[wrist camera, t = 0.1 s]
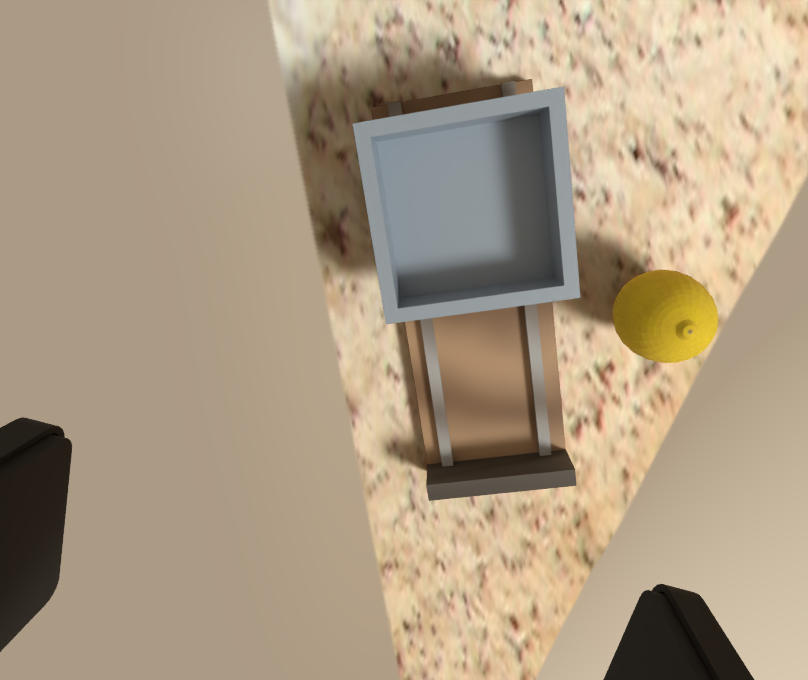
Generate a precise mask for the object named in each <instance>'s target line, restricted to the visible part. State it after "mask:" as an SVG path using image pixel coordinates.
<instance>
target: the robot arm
mask: <svg viewBox="0 0 808 680" xmlns="http://www.w3.org/2000/svg"><path fill="white" fill-rule="evenodd" d="M71 453H72V444H71V441H70V440H69V439H67V438H65V437H64V432H63V429H62V428H60V427H59V426H55V425H51V424H48V423H44V422H40V421H36V420H32V419H28V418H19V419H16V420H14V421H12V422H10V423H9V424H7V425H5V426H3V427H1V428H0V652H1V650H2V649H3V648H4V647H5V646H6V645H7V644H8V643H9V642H10V641H11V640H12V639H13V638H14V637H15V636H16V635H17V634H18V633H19V632H20V631H21V630H22V629H23V627H24V626H25V625H26V624H27V623H28V622H29V621H30V620H31V619H32V618H33V617H34V616H35V615H36V614H37V613H38V612H39V611H40V610H41V609H42V608H43V607H44V605H46V603H47V602H48V601H49V600H50V598H51V596H52V595H53V593H54V591H55V589H56V587H57V584H58V581H59V573H60V565H61V564H60V563H61V554H62V544H63V534H64V524H65V514H66V504H67V493H68V484H69V473H70V463H71ZM604 680H754V679H753V677H752V675H751V674H750V672H749V671H748V669H747V668H746V666H745V665H744V663H743V661H742V660H741V658H740V657H739V655H738V653H737V652H736V650H735V649H734V647H733V646H732V644H731V642H730V641H729V639H728V638H727V636H726V635H725V633H724V632H723V630H722V628H721V627H720V625H719V624H718V622H717V621H716V619H715V617H714V616H713V614H712V613H711V611H710V609H709V608H708V606H707V605H706V603H705V602H704V600H703V599H702V598H701V596H700V595H699V594H697V593H694V592H691V591H687V590H683V589H679V588H675V587H672V586H667V585H664V584H659V585H657V586H655V587H654V588H653V590H652V591H650V590H646V591H644V592H643V593H642V594H641V596H640V598H639V600H638V603H637V605H636V607H635V610H634V611H633V614H632V616H631V618H630V621H629V623H628V625H627V627H626V630H625V632H624V634H623V637H622V639H621V641H620V643H619V646H618V648H617V650H616V652H615V655H614V657H613V659H612V662H611V664H610V666H609V669H608V671H607V673H606V676H605V678H604Z"/></svg>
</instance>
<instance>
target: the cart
mask: <svg viewBox="0 0 808 680" xmlns="http://www.w3.org/2000/svg"><path fill="white" fill-rule="evenodd" d="M353 130H354V136H355V142H356V148H357V154H358V160H359V166H360V172H361V178H362V184H363V190H364V196H365V202H366V208H367V214H368V220H369V226H370V232H371V238H372V243H373V249H374V255H375V261H376V267H377V273H378V279H379V285H380V291H381V297H382V303H383V309H384V315H385V321H386V324H392V323H400V322H407V321H414V320H422V319H429V318H436V317H444V316H451V315H458V314H466V313H473V312H480V311H488V310H495V309H502V308H509V307H517V306H524V305H531V304H539V303H546V302H553V301H561V300H568V299H575V298H580V286H579V273H578V260H577V248H576V235H575V222H574V209H573V196H572V183H571V170H570V158H569V145H568V132H567V119H566V106H565V93H564V87H558V88H553V89H547V90H541V91H536V92H530V93H524V94H519V95H513V96H507V97H501V98H496V99H490V100H484V101H479V102H473V103H467V104H461V105H456V106H450V107H444V108H439V109H433V110H427V111H421V112H416V113H410V114H404V115H399V116H393V117H387V118H382V119H376V120H370V121H364V122H359V123H353Z"/></svg>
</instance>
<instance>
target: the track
mask: <svg viewBox="0 0 808 680" xmlns="http://www.w3.org/2000/svg"><path fill="white" fill-rule="evenodd" d="M530 92H533V85H532V79H529V80H524V81H518V82H515V81H509V82H503V83H501V85H496V86H490V87H484V88H479V89H473V90H467V91H462V92H456V93H450V94H445V95H439V96H434V97H428V98H422V99H417V100H411V101H405V102H400V101H397V102H391V103H387V104H388V105H383V106H377V107H372V108H371V111H372V117H373V120H376V119H382V118H387V117H393V116H399V115H404V114H410V113H416V112H421V111H427V110H433V109H439V108H444V107H450V106H456V105H461V104H467V103H473V102H479V101H484V100H490V99H496V98H501V97H507V96H513V95H519V94H524V93H530ZM405 325H406V332H407V338H408V344H409V351H410V357H411V363H412V370H413V376H414V382H415V388H416V395H417V401H418V407H419V414H420V420H421V426H422V433H423V439H424V445H425V452H426V458H427V464H428V465H427V483H426V486H427V492H428V498H429V501H431V500H440V499H450V498H460V497H470V496H479V495H489V494H499V493H509V492H518V491H528V490H538V489H548V488H557V487H567V486H576V475H575V468H574V466H573V464H572V462H571V460H570V458H569V456H568V453H567V451H566V449H565V438H564V427H563V416H562V405H561V394H560V382H559V371H558V360H557V349H556V338H555V327H554V316H553V305H552V302H546V303H539V304H531V305H524V306H517V307H509V308H502V309H495V310H488V311H480V312H473V313H466V314H458V315H451V316H444V317H436V318H429V319H422V320H414V321H407V322H405Z"/></svg>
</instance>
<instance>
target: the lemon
mask: <svg viewBox="0 0 808 680" xmlns="http://www.w3.org/2000/svg"><path fill="white" fill-rule="evenodd" d="M613 323H614V326H615V330H616V332H617V334H618V336H619V337H620V339H621V340H622V342H623V343H624V344H625V345H626V346H627V347H628V348H629V349H630V350H631V351H633V352H634V353H636V354H638V355H640V356H642V357H644V358H646V359H649V360H653V361H657V362H662V363H676V362H680V361H684V360H688V359H690V358H692V357H694V356H696V355H698V354H699V353H701V352H702V351H703V350H704V349H705V348H706V347H707V346H708V345H709V344H710V342H711V341H712V339H713V337H714V335H715V333H716V331H717V325H718V313H717V308H716V305H715V303H714V300H713V298H712V296H711V295H710V294H709V292H708V291H707V290H706V289H705V287H704V286H703V285H702V284H700V283H699V282H697V281H696V280H695V279H693V278H692V277H690V276H688V275H685V274H682V273H680V272H677V271H669V270H655V271H649V272H646V273H643V274H641V275H638V276H636V277H634V278H633V279H632V280H630V281H629V282H627V283H626V284H625V286H624V287H623V288H622V289H621V290H620V292H619V293H618V295H617V297H616V299H615V302H614V306H613Z"/></svg>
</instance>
